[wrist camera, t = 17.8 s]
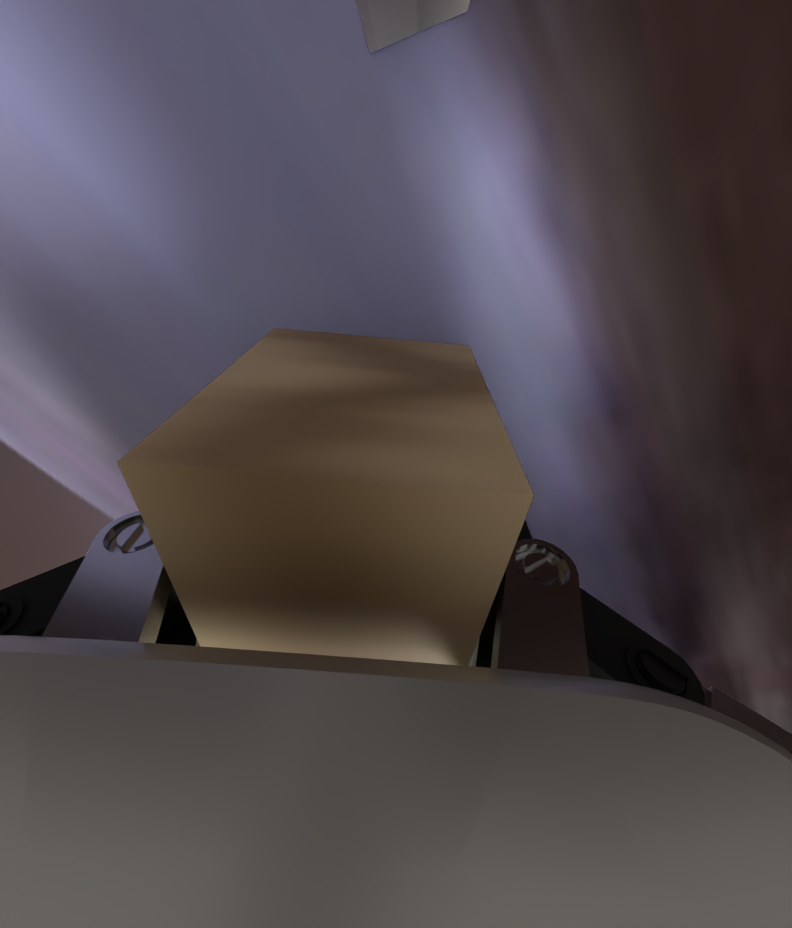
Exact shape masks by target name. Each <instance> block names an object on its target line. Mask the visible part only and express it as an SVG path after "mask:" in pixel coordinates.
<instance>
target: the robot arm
mask: <svg viewBox="0 0 792 928" xmlns="http://www.w3.org/2000/svg"><path fill="white" fill-rule="evenodd" d="M0 928H792V734H791V733H789V732H788V731H786V730H785V729H783V728H781V727H780V726H778V725H776V724H775V723H773V722H771V721H770V720H768V719H767V718H765V717H763V716H762V715H760V714H758V713H757V712H755V711H754V710H752V709H750V708H749V707H747V706H745V705H744V704H742V703H740V702H739V701H737V700H736V699H734V698H732V697H731V696H729V695H727V694H726V693H724V692H722V691H721V690H719V689H718V688H716V687H714V686H712V687H711V688H709V689H708V690H707V689H706V688H704V687H702V685H701V683H700V681H699V680H698V678H697V676H696V675H695V673H694V672H693V670H692V669H691V668H690V667H689V666H688V665H687V664H686V662H685V661H684V660H683V659H682V658H681V657H679V656H678V655H677V654H676V653H674V652H673V651H672V650H671V649H669V648H668V647H666V646H665V645H663V644H662V643H660V642H659V641H657V640H656V639H655V638H653V637H652V636H650V635H649V634H647V633H646V632H644V631H643V630H641V629H640V628H638V627H637V626H635V625H634V624H632V623H631V622H630V621H628V620H627V619H625V618H624V617H622V616H621V615H619V614H618V613H616V612H615V611H613V610H612V609H610V608H609V607H607V606H606V605H604V604H603V603H602V602H600V601H599V600H597V599H596V598H594V597H593V596H591V595H590V594H588V593H587V592H585V591H584V590H582V589H581V588H580V587H579V578H578V572H577V569H576V566H575V564H574V563H573V561H572V560H571V559H570V557H569V556H568V555H567V554H565V553H564V552H563V551H562V550H561V549H559V548H558V547H556V546H554V545H553V544H550V543H548V542H545V541H542V540H537V539H532V537H531V534H530V531H529V529H528V526H527V523H526V521H524V523H523V526H522V529H521V531H520V534H519V536H518V539H517V541H516V544H515V547H514V549H513V552H512V554H511V557H510V560H509V562H508V565H507V567H506V570H505V572H504V575H503V578H502V580H501V583H500V585H499V588H498V591H497V593H496V596H495V598H494V601H493V603H492V606H491V609H490V611H489V614H488V616H487V619H486V622H485V624H484V627H483V629H482V632H481V635H480V637H479V640H478V642H477V645H476V647H475V651H474V658H473V665H472V666H460V665H447V664H434V663H421V662H408V661H395V660H383V659H369V658H355V657H342V656H328V655H314V654H300V653H286V652H272V651H259V650H245V649H231V648H216V647H201V646H200V645H199V643H198V640H197V638H196V636H195V634H194V631H193V629H192V627H191V625H190V623H189V620H188V618H187V616H186V614H185V611H184V609H183V607H182V605H181V603H180V600H179V598H178V596H177V594H176V592H175V589H174V587H173V585H172V583H171V580H170V578H169V576H168V574H167V572H166V569H165V567H164V565H163V563H162V560H161V558H160V556H159V554H158V552H157V549H156V547H155V545H154V543H153V540H152V538H151V536H150V534H149V532H148V529H147V527H146V525H145V523H144V521H143V518H142V516H141V514H140V512H139V511H135V512H132V513H129V514H126V515H123V516H121V517H119V518H118V519H116V520H114V521H112V522H110V523H109V524H108V525H107V526H106V527H104V528H103V529H102V530H101V531H100V533H99V534H98V535H97V536H96V538H95V540H94V541H93V543H92V545H91V547H90V549H89V551H88V552H87V554H86V556H84V557H82V558H80V559H77V560H74V561H72V562H69V563H67V564H64V565H62V566H59V567H57V568H54V569H52V570H50V571H47V572H45V573H42V574H40V575H37V576H35V577H32V578H30V579H28V580H25V581H22V582H20V583H17V584H15V585H12V586H10V587H7V588H5V589H2V590H0Z"/></svg>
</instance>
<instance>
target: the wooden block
mask: <svg viewBox="0 0 792 928" xmlns="http://www.w3.org/2000/svg"><path fill="white" fill-rule="evenodd" d="M117 463H118V465H119V467H120V469H121V472H122V474H123V476H124V478H125V481H126V483H127V485H128V487H129V489H130V492H131V494H132V496H133V498H134V501H135V503H136V505H137V507H138V509H139V512H140V514H141V516H142V518H143V521H144V523H145V525H146V527H147V529H148V532H149V534H150V536H151V538H152V540H153V543H154V545H155V547H156V549H157V552H158V554H159V556H160V558H161V560H162V563H163V565H164V567H165V569H166V572H167V574H168V576H169V578H170V580H171V583H172V585H173V587H174V589H175V592H176V594H177V596H178V598H179V600H180V603H181V605H182V607H183V609H184V611H185V614H186V616H187V618H188V620H189V623H190V625H191V627H192V629H193V631H194V634H195V636H196V638H197V640H198V643H199V645H200V646H201V647H216V648H231V649H245V650H259V651H272V652H286V653H300V654H314V655H328V656H342V657H355V658H369V659H383V660H395V661H408V662H421V663H434V664H447V665H460V666H469V663H470V660H471V658H472V655H473V653H474V650H475V647H476V645H477V642H478V640H479V637H480V635H481V632H482V629H483V627H484V624H485V622H486V619H487V616H488V614H489V611H490V609H491V606H492V603H493V601H494V598H495V596H496V593H497V591H498V588H499V585H500V583H501V580H502V578H503V575H504V572H505V570H506V567H507V565H508V562H509V560H510V557H511V554H512V552H513V549H514V547H515V544H516V541H517V539H518V536H519V534H520V531H521V529H522V526H523V523H524V521H525V518H526V516H527V513H528V510H529V508H530V505H531V503H532V500H533V497H534V494H533V492H532V489H531V487H530V485H529V482H528V480H527V478H526V476H525V473H524V471H523V469H522V466H521V464H520V462H519V459H518V457H517V455H516V453H515V450H514V448H513V446H512V443H511V441H510V439H509V436H508V434H507V432H506V430H505V427H504V425H503V423H502V420H501V418H500V416H499V413H498V411H497V409H496V407H495V404H494V402H493V400H492V397H491V395H490V393H489V390H488V388H487V386H486V384H485V381H484V379H483V377H482V374H481V372H480V370H479V367H478V365H477V363H476V361H475V358H474V356H473V354H472V351H471V349H470V347H469V345H461V344H449V343H438V342H426V341H415V340H403V339H392V338H380V337H369V336H357V335H346V334H334V333H323V332H311V331H300V330H288V329H277V328H274V329H273V330H272V331H270V332H269V333H268V334H267V335H266V336H264V337H263V338H262V339H261V340H260V341H259V342H257V343H256V344H255V345H254V346H253V347H252V348H250V349H249V350H248V351H247V352H246V353H245V354H243V355H242V356H241V357H240V358H239V359H237V360H236V361H235V362H234V363H233V364H232V365H230V366H229V367H228V368H227V369H226V370H225V371H223V372H222V373H221V374H220V375H219V376H218V377H216V378H215V379H214V380H213V381H212V382H210V383H209V384H208V385H207V386H206V387H205V388H203V389H202V390H201V391H200V392H199V393H198V394H196V395H195V396H194V397H193V398H192V399H191V400H189V401H188V402H187V403H186V404H185V405H183V406H182V407H181V408H180V409H179V410H178V411H176V412H175V413H174V414H173V415H172V416H171V417H169V418H168V419H167V420H166V421H165V422H164V423H162V424H161V425H160V426H159V427H158V428H156V429H155V430H154V431H153V432H152V433H151V434H149V435H148V436H147V437H146V438H145V439H144V440H142V441H141V442H140V443H139V444H138V445H137V446H135V447H134V448H133V449H132V450H131V451H129V452H128V453H127V454H126V455H125V456H124V457H122V458H121V459H120V460H119V461H118V462H117Z"/></svg>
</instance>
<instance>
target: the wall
mask: <svg viewBox="0 0 792 928" xmlns="http://www.w3.org/2000/svg"><path fill="white" fill-rule="evenodd" d="M356 3H357V7H358V11H359V14H360V18H361V22H362V26H363V29H364V33H365V37H366V41H367V44H368V48H369V52H370V53H372V52H375V51H377V50H379V49H382V48H384V47H386V46H389V45H391V44H393V43H395V42H398V41H400V40H402V39H405V38H407V37H409V36H412V35H414V34H416V33H419V32H421V31H423V30H426V29H428V28H430V27H433V26H435V25H437V24H439V23H442V22H444V21H446V20H449V19H451V18H453V17H456V16H458V15H460V14H463V13H465V12H467V10H468V6H469V3H470V0H356Z"/></svg>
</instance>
